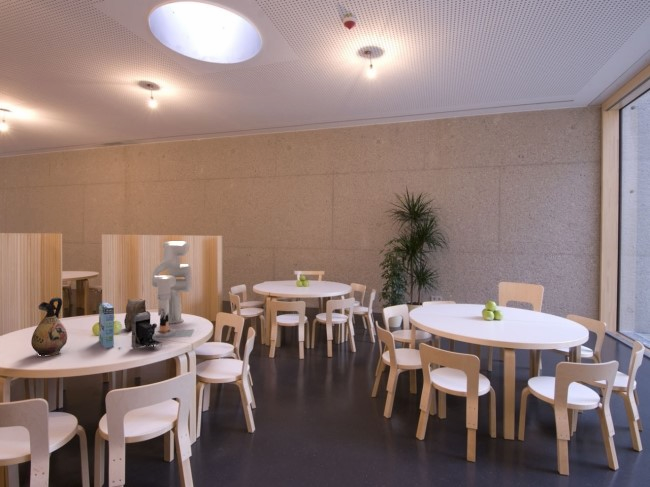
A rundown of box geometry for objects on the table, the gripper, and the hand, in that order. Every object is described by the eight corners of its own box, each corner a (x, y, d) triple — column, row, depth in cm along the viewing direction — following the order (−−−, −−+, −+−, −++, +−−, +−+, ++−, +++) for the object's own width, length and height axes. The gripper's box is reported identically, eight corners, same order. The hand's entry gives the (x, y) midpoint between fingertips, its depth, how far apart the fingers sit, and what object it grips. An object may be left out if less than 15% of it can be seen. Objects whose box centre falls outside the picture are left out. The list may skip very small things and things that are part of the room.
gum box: (98, 341, 220) (98, 303, 219) (108, 339, 223) (108, 302, 223) (104, 348, 205) (103, 308, 204) (114, 347, 208) (114, 307, 208)
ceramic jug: (49, 359, 187) (48, 301, 186) (23, 357, 190) (23, 300, 189) (77, 349, 204) (76, 296, 203) (53, 347, 206) (52, 295, 206)
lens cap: (160, 333, 233) (160, 322, 232) (169, 332, 234) (169, 321, 234) (158, 336, 226) (158, 324, 226) (167, 335, 227) (167, 324, 227)
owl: (124, 328, 251) (123, 299, 250) (144, 325, 258) (144, 297, 257) (126, 332, 240) (126, 301, 240) (147, 329, 248) (147, 300, 247)
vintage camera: (146, 353, 198) (147, 317, 198) (130, 348, 206) (131, 313, 206) (162, 349, 206) (163, 314, 206) (146, 344, 214) (147, 310, 214)
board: (155, 333, 237) (155, 331, 237) (194, 331, 243) (194, 329, 243) (148, 341, 220) (148, 338, 219) (191, 338, 225) (191, 336, 225)
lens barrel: (155, 332, 235) (155, 329, 235) (176, 331, 238) (176, 328, 238) (150, 337, 222) (150, 334, 222) (173, 336, 225) (173, 333, 225)
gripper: (160, 294, 237) (160, 320, 238) (154, 299, 220) (155, 327, 221) (172, 294, 239) (172, 319, 240) (168, 299, 222) (168, 326, 223)
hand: (164, 323), depth 230 cm, fingers open, 9 cm apart
